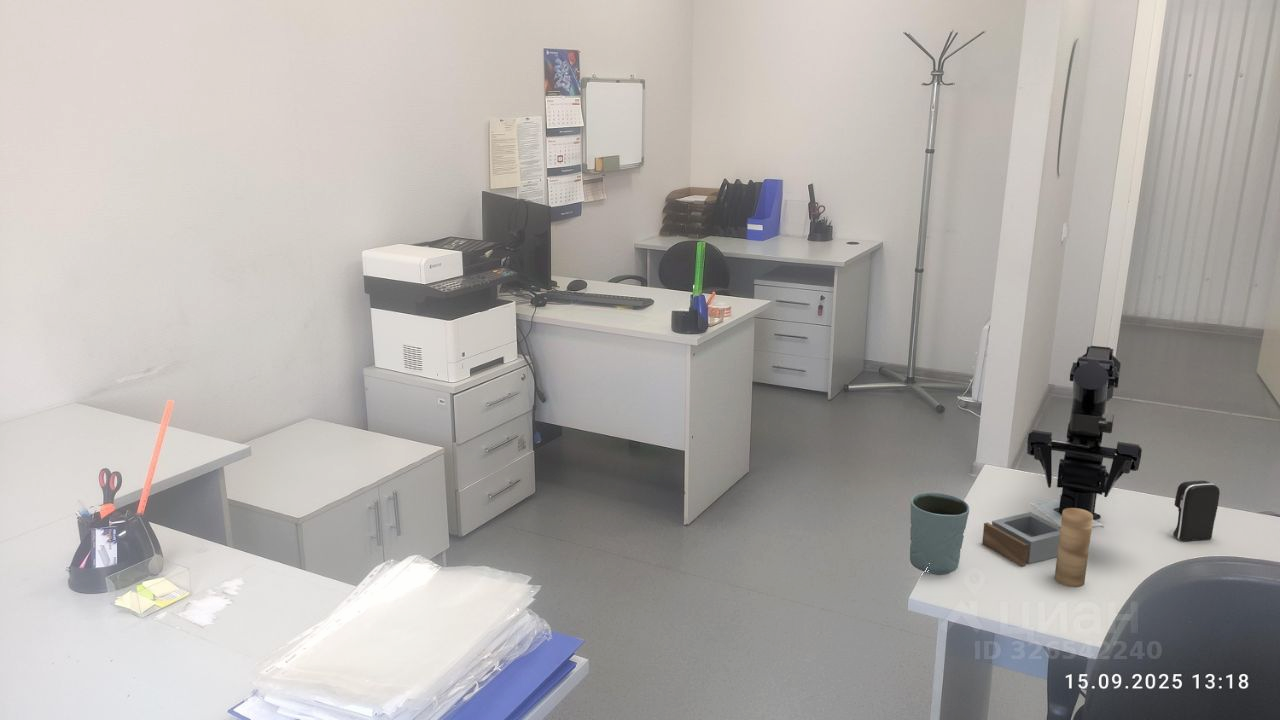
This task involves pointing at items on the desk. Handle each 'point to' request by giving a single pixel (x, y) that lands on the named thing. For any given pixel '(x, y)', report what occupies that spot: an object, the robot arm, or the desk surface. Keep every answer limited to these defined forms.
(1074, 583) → the oak dowel
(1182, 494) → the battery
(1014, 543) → the backstop wall
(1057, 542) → the socket block
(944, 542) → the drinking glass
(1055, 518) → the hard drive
